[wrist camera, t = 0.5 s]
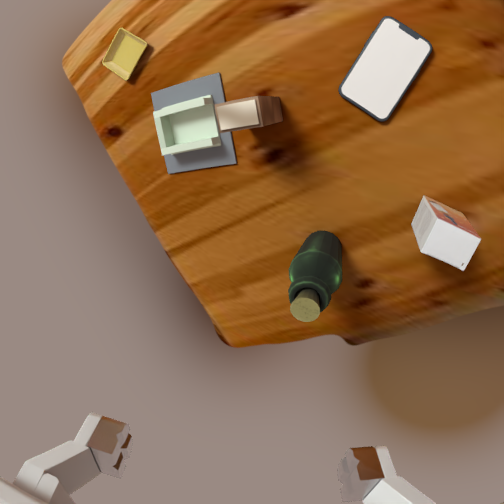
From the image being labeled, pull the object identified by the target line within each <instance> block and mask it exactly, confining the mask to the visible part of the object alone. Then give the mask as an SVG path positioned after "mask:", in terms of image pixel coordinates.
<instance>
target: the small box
mask: <svg viewBox="0 0 504 504" xmlns="http://www.w3.org/2000/svg"><path fill="white" fill-rule="evenodd" d="M411 225H412V227H413V230H414V233H415V236H416V239H417V242H418V246H419V249H420V252H421V253H424V254H427V255H429V256H432V257H434V258H437V259H439V260H441V261H444V262H446V263H448V264H450V265H452V266H455V267H457V268H458V269H460V270H462V271H464V270H465V268H466V266H467V264H468V263H469V261H470V259H471V257H472V255H473V254H474V252H475V250H476V248H477V246H478V244H479V242H480V240H481V238H480V237H479V235H478V234H477V232H476V231H475V230H474V228H473V227H472V225H471V224H470V223H469V221H468V220H467V219H466V217H465V216H464V215H463V213H461V212H459V211H457V210H454V209H452V208H450V207H448V206H446V205H444V204H442V203H440V202H438V201H436V200H433V199H431V198H429V197H427V196H425V195H424V196H423V198H422V201H421V203H420V205H419V207H418V210H417V212H416V214H415V217H414V219H413V221H412V223H411Z"/></svg>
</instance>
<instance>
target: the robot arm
mask: <svg viewBox="0 0 504 504" xmlns="http://www.w3.org/2000/svg"><path fill="white" fill-rule="evenodd" d="M129 431H130V427H129V424H127V423H124V422H120V421H117V420H114V419H111V418H107V417H104V416H101V415H98V414H95V413H90V414H89V415H88V417H87V418H86V420H85V422H84V424H83V425H82V427H81V429H80V431H79V432H78V434H77V436H76V438H75V440H74V441H68V442H66V443H64V444H62V445H60V446H57V447H56V448H53V449H51V450H49V451H47V452H45V453H43V454H40V455H38V456H36V457H34V458H32V459H29V460H27V461H26V462H25V463H24V465H23V467H22V468H21V470H20V472H19V473H18V475H17V477H16V478H15V480H14V482H13V484H12V483H10V482H8V481H7V480H5V479H4V478H2V477H1V476H0V504H76V503H75V502H74V501H73V499H72V498H71V497H70V494H72V493H73V492H74V491H76V490H78V489H79V488H81V487H82V486H84V485H85V484H87V483H88V482H89V481H91V480H92V479H94V478H95V477H96V476H98V475H99V474H101V473H104V474H107V475H110V476H114V477H117V478H121V477H122V475H123V472H124V470H125V467H126V465H125V461H124V460H125V459H127V458H128V457H129V456H130V453H131V450H132V436H131V435H130V434H129ZM345 454H346V457H345V458H343V459H341V461H340V463H339V466H338V480H339V481H340V482H341V483H342V484H343V485H342V487H341V488H340V491H341V496H342V501H343V502H350V501H360V500H363V503H364V504H436V503H435V502H434V501H432V500H431V499H429V498H428V497H427V496H425V495H424V494H423V493H421V492H420V491H419V490H418V489H416V488H415V487H414V486H412V485H411V484H410V483H408V482H407V481H406V480H405V479H403V478H402V477H401V476H397V475H396V472H395V469H394V466H393V463H392V460H391V457H390V455H389V452H388V449H387V447H386V446H375V447H372V446H371V447H360V448H349V449H348V450H347V451H346V453H345ZM100 472H101V473H100ZM500 504H504V502H503V503H500Z"/></svg>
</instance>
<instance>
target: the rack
mask: <svg viewBox="0 0 504 504" xmlns="http://www.w3.org/2000/svg"><path fill="white" fill-rule="evenodd" d="M153 114H154V119H155V124H156V129H157V134H158V138H159V143H160V147H161V152H162V155H166V154H171V155H173V154H178V153H183V152H188V151H194V150H199V149H204V148H210V147H216V146H221V140H220V135H219V130H218V124H217V119H216V114H215V109H214V104H213V98H212V95H207V96H203V97H199V98H196V99H192V100H188V101H184V102H181V103H177V104H174V105H171V106H167V107H164V108H162V109H161V110H158V111H155V112H153Z"/></svg>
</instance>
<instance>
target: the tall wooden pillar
mask: <svg viewBox="0 0 504 504" xmlns="http://www.w3.org/2000/svg"><path fill="white" fill-rule="evenodd" d="M214 106H215V112H216V117H217V122H218V127H219V132H220V133H225V132H231V131H237V130H243V129H249V128H256V127H263V126H267V125H270V124H274V123H278V122H281V121H283V117H282V111H281V105H280V99H279V97H272V96H254V97H249V98H244V99H239V100H234V101H229V102H224V103H219V104H215V105H214Z"/></svg>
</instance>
